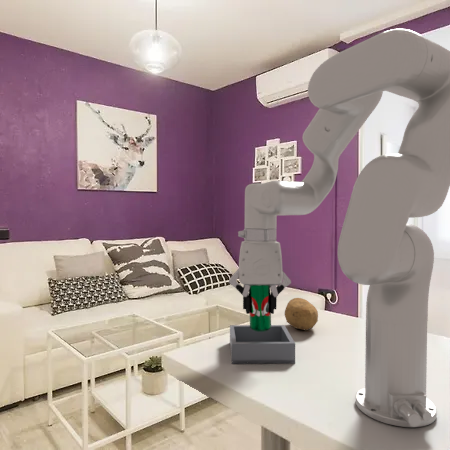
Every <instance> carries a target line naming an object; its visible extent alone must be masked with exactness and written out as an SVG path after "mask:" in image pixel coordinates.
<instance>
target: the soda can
mask: <svg viewBox="0 0 450 450" xmlns="http://www.w3.org/2000/svg"><path fill="white" fill-rule="evenodd" d="M248 294H249V297H250V313H249V314H248V315H249V325H250V328H251V329H252V330H253V331H257V332H264V331H268V330H269V329H270V328H271V325H272V314H271V307H270V294H271V289H270V285H250V289H249V292H248Z"/></svg>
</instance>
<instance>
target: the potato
mask: <svg viewBox="0 0 450 450" xmlns="http://www.w3.org/2000/svg"><path fill="white" fill-rule="evenodd" d="M284 318H285V320H286V323H288V324H289V325H290V326H291V327H293V328H295V329H298V330H303V331H307V330H310V329H312V328H314V327H315V326H316V324H317V323H318V321H319V320H318V318H319V312H318V309H317V307H316V306H315V305H314V304H312V303H310V302H309V301H308V300H307V299H305V298H303V297H302V298H301V297H294V298H292V299H290V300H289V301H288V302H287V304H286V305H285V309H284Z"/></svg>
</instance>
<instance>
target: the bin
mask: <svg viewBox="0 0 450 450" xmlns="http://www.w3.org/2000/svg"><path fill="white" fill-rule="evenodd" d="M229 348H230V359H231V364H232V365H253V364H254V365H262V364H263V365H267V364H268V365H270V364H271V365H275V364H276V365H279V364H280V365H281V364H283V365H285V364H286V365H289V364H290V365H291V364H292V365H293V364H296V341H295V340H294V339H293V337H292V336H291V333H290V332H289V330H288V328H287V327H286V325H285V324H271V328H270V329H269V330H268V331H264V332H257V331H253V330H252V329H251V328H250V324H248V325H247V324H246V325H245V324H244V325H242V324H241V325H238V324H235V325H232V324H231V325H229Z"/></svg>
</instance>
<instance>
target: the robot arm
mask: <svg viewBox="0 0 450 450" xmlns="http://www.w3.org/2000/svg"><path fill="white" fill-rule="evenodd" d="M383 92H389V93H392V94H393V95H394V94H395V95H397V96H399V97H404V98H407V99H410V100H413V101H415V102H416V103H417V104H418V107H417V109H416V110H415V112H413V115H412V116H411V118H410V119H409V121H408V122H407V124H406V127H405V129H404V133H403V137H402V141H401V143H400V147H399V149H398V152H397V153H386V154H381V155H379V156H377V157H375V158H373V159H371V160H370V161H369V162H368V163H367V164H366V165H365V166H364V167H363V168H362V170H361V171H360V172H359V174H358V176H357V178H356V180H355V182H354V185H353V188H352V192H351V195H350V198H349V202H348V206H347V210H346V213H345V216H344V221H343V223H342V227H341V231H340V235H339V239H338V243H337V260H338V264H339V266H340V269H341V272H342V273H343V274H344V275H345V277H346V278H348V280H350V281H352V282H353V283H355V284H358V285H363V286H368V289H367V295H366V303H365V304H366V305H365V307H366V308H365V354H364V355H365V361H364V362H365V364H364V366H365V369H364V370H365V374H364V375H365V376H364V378H365V379H364V382H365V383H364V384H365V385H364V387H362V388H360V389H359V390H358V391H357V392H356V393H355V404H356V406H357V408H358V409H359V410H360V411H361V412H362V413H363V414H365V415H366V416H367V417H370V418H371V419H374V420H375V421H378V422H381V423H384V424H387V425H392V426H396V427H402V428H403V427H404V428H420V427H426V426H428V425H430V424H433V423H434V422H435V421H436V419H437V415H438V414H437V412H438V411H437V407H436V405H435V404H434V403H433V401H431V400H430V399H429V398H428V397H427V370H428V369H427V365H428V359H427V358H428V321H429V319H428V318H429V317H428V315H429V293H430V286H431V280H432V275H433V270H434V263H435V252H434V246H433V243H432V241H431V239H430V237H429V235H428V234H427V233H426V232H425V231H424V230H422V229H421V228H420V227H418V226H416V225H414V224H411V223H408V221H409V218H423V217H428V216H430V215H432V214H435V213H436V212H437V211H438V210H439V209H440V208H441V207H442V206H443V204H444V202H445V200H446V198H447V195H448V192H449V190H450V50H448V49H447V48H445V47H444V46H442V45H440V44H438V43H437V42H434V41H432V40H430V39H428V38H427V37H424V36H423V35H421V34H420V33H418V32H416V31H413V30H411V29H406V28H394V29H390V30H386V31H383V32H380V33H378V34H376V35H373V36H372V37H370V38H367V39H365V40H363V41H361V42H359V43H356V44H354V45H353V46H350V47H348V48H346V49H344V50H341V51H340V52H338V53H336V54H335V55H332V56H330V57H329V58H328V59H325V61H323V62H322V63H321V64H319V65H318V66H317V68H316V69H315V70H314V71H313V73H312V74H311V77H310V79H309V81H308V86H307V94H308V95H307V96H308V99H309V100H310V101H309V102H311V104H313V106H314V107H315V108H318V110H317V112H316V113H315V115H314V117H313V118H312V119H311V121H310V122H309V124H308V126H307V127H306V128H305V130H304V131H303V133H302V141H303V144H304V146H305V147H306V149H308V150H309V152H310V153H311V154H313V162H312V165H311V168H310V169H309V171H308V172H307V173H306V175H305V176H304V178H303V179H302V180H301V181H288V180H287V181H286V180H270V181H267V182H264V183H263V182H262V183H261V182H260V183H259V182H258V183H250V184H248V185H246V186H245V189H244V229H243V230H239V231H237V233H238V235H237V236H238V237H239V238H242V239H244V241H241V243H240V249H239V256H238V257H239V258H238V269H237V270H236V271H235V272H234V274H232V275H231V277H230V278H229V280H228V284H229V285H230V286H232V287H233V288H234V289H236V291H238V292H239V293H240V294H241V296H242V310H245V314H247V315H249V313H250V297H249V289H250V285H270V307H271V315H273V314H274V313H275V310H277V300H278V299H277V298H278V296H279V294H281V292H283V291H284V290H285V289H286V288H287V287H289V286H290V285H291V284H292V280H291V279H290V277H288V275H287V274H286V273H285V272H284V270H283V257H282V247H281V243H280V242H279V241H277V225H278V224H277V217H278V216H305V215H308V214H311V213H313V212H314V211H315V210H317V208H318V207H319V206H321V204H322V202H324V200H325V199H326V198H327V196H328V195H329V193H330V192H331V191H332V189H333V187H334V185H335V182H336V180H337V175H338V170H339V160H340V156H341V155H342V153H343V152H344V151H345V149H346V148H347V147H348V145H349V144H350V143H351V141H352V140H353V139H354V137H356V134H357V133H358V132H359V131H360V129H361V128H362V127H363V125H364V124H365V123H366V121H367V119H369V117H370V115H371V114H372V113H373V112H374V111H375V109H376V108H377V106H378V104H379V103H380V102H381V99H382V97H383ZM237 280H239V282H240V283H241V284H242V285H243V286H242V285H241V284H240V283H239V282H238V281H237Z"/></svg>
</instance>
